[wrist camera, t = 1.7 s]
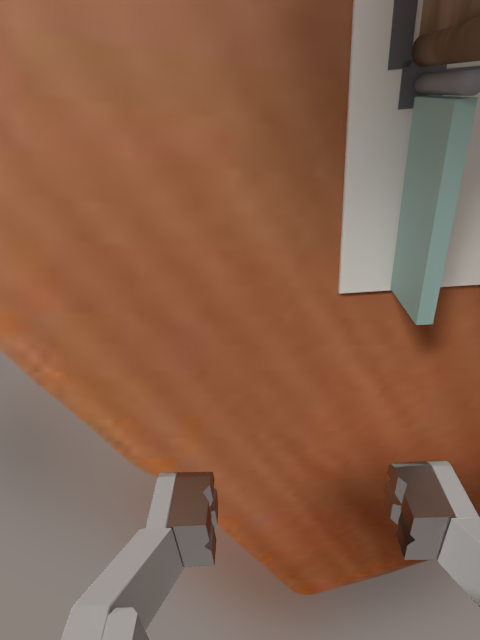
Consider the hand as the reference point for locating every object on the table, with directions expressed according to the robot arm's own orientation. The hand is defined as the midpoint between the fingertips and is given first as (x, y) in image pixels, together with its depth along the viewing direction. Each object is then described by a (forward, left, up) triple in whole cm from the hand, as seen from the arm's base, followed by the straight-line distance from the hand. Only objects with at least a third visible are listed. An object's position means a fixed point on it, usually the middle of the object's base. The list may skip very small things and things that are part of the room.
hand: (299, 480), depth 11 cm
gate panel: (-3, +9, -19) cm, 21 cm away
